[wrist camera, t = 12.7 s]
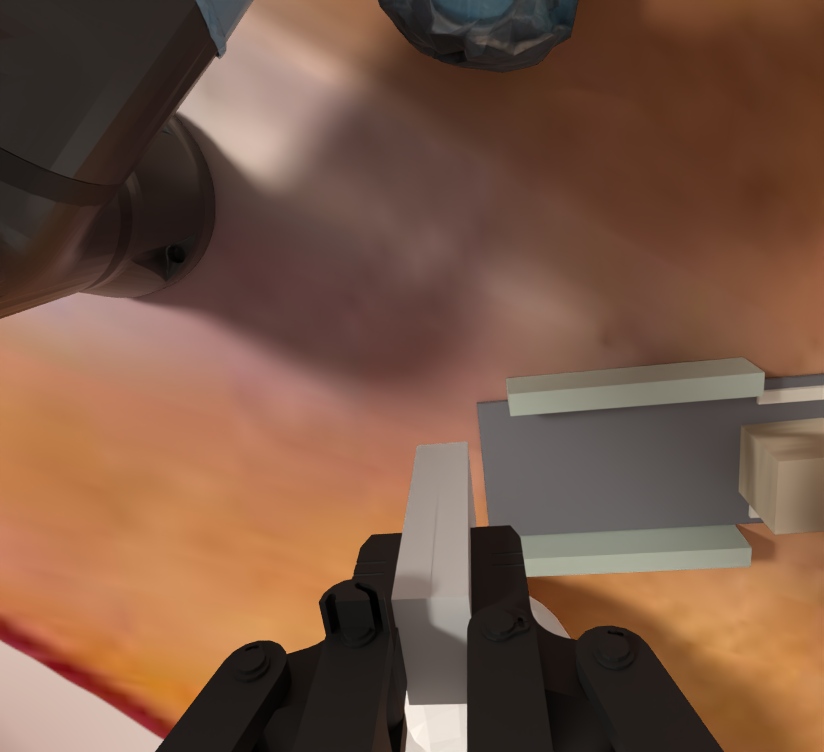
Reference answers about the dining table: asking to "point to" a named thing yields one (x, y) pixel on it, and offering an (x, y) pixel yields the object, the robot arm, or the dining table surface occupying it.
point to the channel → (627, 390)
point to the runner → (630, 461)
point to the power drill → (484, 30)
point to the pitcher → (456, 708)
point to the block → (784, 474)
